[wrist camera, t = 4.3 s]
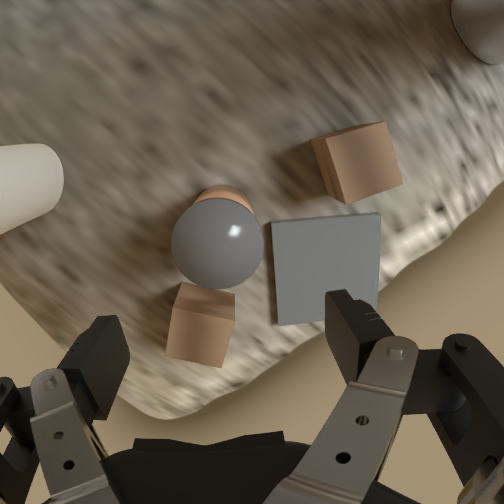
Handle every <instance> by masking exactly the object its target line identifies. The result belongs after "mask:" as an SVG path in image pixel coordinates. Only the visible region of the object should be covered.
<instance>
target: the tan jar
mask: <svg viewBox="0 0 504 504" xmlns="http://www.w3.org/2000/svg"><path fill="white" fill-rule="evenodd" d="M263 249H264V241H263V235H262V232H261V228H260V225H259V223H258V221H257V219H256V218H255V215H254V212H253V208H252V204H251V202H250V200H249V198H248V197H247V196H246V195H245V194H244V193H243V192H242V191H241V190H240V189H238V188H236V187H233V186H230V185H215V186H212V187H210V188H208V189H206V190H205V191H203V192H202V193H201V194H200V195H199V197H198V198H197V199H196V201H195V202H194V203H193V205H192V206H190V207H189V208H188V209H187V210H186V211H185V212H184V213H183V214H182V215H181V217H180V218H179V219H178V221H177V222H176V224H175V226H174V229H173V232H172V236H171V252H172V256H173V259H174V262H175V264H176V265H177V267H178V269H179V270H180V271H181V273H182V274H183V275H184V276H185V277H186V278H188V279H189V280H190V281H192V282H193V283H195V284H197V285H199V286H202V287H205V288H210V289H226V288H231V287H234V286H236V285H239V284H241V283H242V282H244V281H245V280H247V279H248V278H249V277H250V276H251V275H252V274H253V273H254V272H255V270H256V269H257V267H258V266H259V264H260V261H261V259H262V255H263Z"/></svg>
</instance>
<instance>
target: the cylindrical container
mask: <svg viewBox="0 0 504 504" xmlns="http://www.w3.org/2000/svg"><path fill="white" fill-rule="evenodd" d="M63 185H64V174H63V168H62V164H61V162H60V159H59V157H58V156H57V154H56V153H55V152H54V151H53V150H52V149H51V148H50V147H48V146H47V145H44V144H40V143H35V144H20V145H7V146H0V235H1V234H3V233H5V232H7V231H9V230H11V229H13V228H15V227H17V226H19V225H21V224H24V223H26V222H28V221H30V220H32V219H34V218H37V217H39V216H41V215H43V214H46V213H48V212H49V211H51V210H52V209H53V208H54V207H55V206H56V204H57V203H58V201H59V199H60V197H61V194H62V190H63Z"/></svg>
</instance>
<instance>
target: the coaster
mask: <svg viewBox="0 0 504 504" xmlns="http://www.w3.org/2000/svg"><path fill="white" fill-rule="evenodd" d="M270 223H271V236H272V249H273V262H274V276H275V291H276V305H277V321H278V326H283V325H292V324H299V323H307V322H315V321H322V320H325V293H326V292H327V291H334V290H340V289H346V290H347V291H348V293H349V294H350V295H351V297H352V298H353V299H354V300H358V299H361V300H363V301H365V302H367V303H368V304H370V305H371V306H372V307H373V308H374V310H375V311H376V307H377V294H378V281H379V264H380V240H381V214H380V213H378V212H375V213H362V214H349V215H337V216H325V217H313V218H302V219H291V220H280V221H270Z"/></svg>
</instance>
